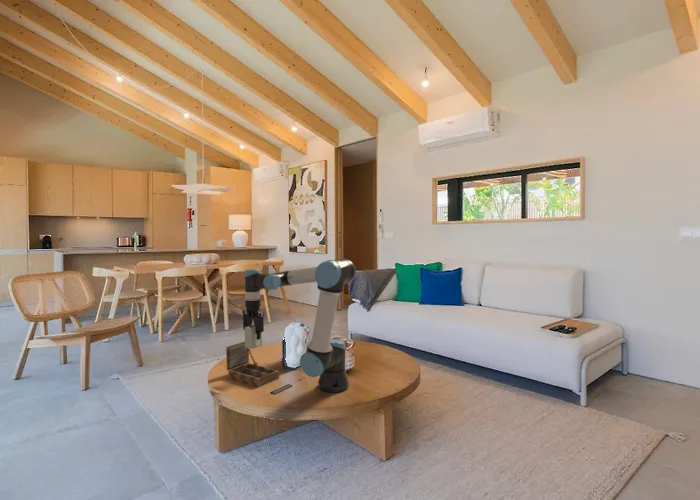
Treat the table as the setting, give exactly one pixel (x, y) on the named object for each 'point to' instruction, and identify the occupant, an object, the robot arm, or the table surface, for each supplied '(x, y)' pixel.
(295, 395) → the table surface
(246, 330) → the block
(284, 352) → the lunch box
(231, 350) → the case
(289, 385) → the mat
